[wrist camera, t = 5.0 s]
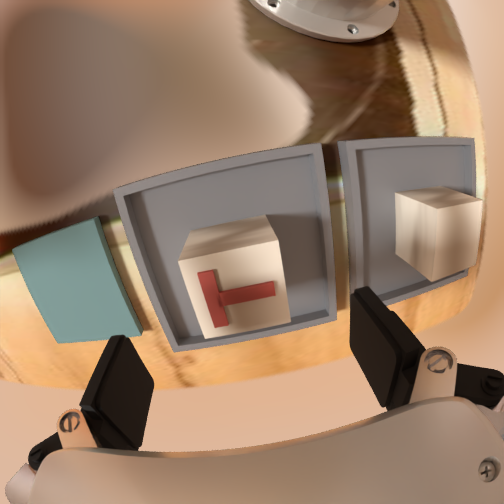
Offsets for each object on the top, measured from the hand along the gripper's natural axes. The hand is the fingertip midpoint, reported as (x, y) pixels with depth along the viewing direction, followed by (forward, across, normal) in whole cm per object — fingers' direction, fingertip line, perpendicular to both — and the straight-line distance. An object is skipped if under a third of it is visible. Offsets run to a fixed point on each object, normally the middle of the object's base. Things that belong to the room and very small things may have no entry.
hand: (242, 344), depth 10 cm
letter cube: (+9, 0, 0) cm, 9 cm away
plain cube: (+9, -15, 0) cm, 17 cm away
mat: (+9, +14, 0) cm, 17 cm away
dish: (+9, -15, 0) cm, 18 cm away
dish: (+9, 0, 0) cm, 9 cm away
